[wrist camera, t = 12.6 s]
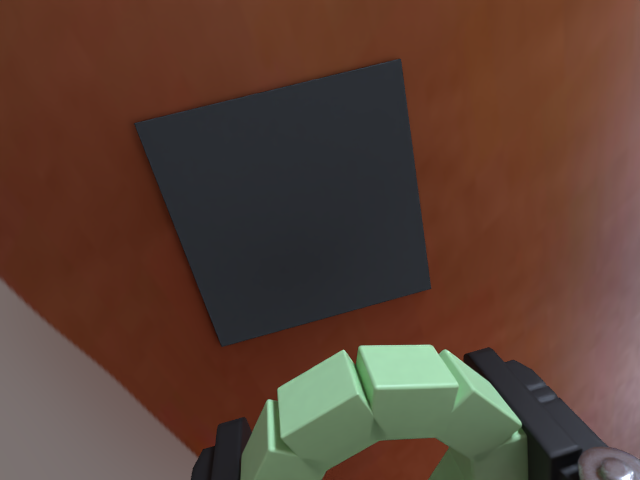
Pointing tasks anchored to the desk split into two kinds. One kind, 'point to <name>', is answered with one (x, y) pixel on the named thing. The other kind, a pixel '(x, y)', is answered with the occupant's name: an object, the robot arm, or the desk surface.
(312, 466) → the ring
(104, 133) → the desk surface
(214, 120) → the mat
